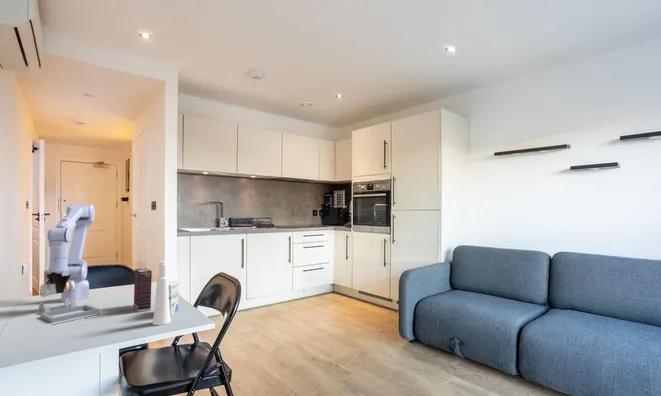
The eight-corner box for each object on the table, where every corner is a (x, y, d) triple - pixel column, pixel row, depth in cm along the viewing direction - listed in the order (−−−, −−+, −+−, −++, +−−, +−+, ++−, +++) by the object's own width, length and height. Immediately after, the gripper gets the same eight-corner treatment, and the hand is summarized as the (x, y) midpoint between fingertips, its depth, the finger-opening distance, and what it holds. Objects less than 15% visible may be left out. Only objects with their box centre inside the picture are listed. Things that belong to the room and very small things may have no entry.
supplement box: (151, 310, 140) (152, 270, 141) (138, 312, 137) (139, 272, 138) (146, 305, 147) (147, 267, 147) (133, 307, 144) (134, 269, 144)
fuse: (70, 291, 144) (70, 279, 144) (74, 292, 141) (75, 281, 141) (40, 295, 135) (40, 284, 136) (44, 297, 133) (44, 285, 133)
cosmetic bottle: (168, 324, 123) (169, 262, 123) (149, 325, 121) (151, 262, 122) (172, 319, 128) (173, 259, 129) (155, 320, 127) (156, 260, 128)
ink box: (166, 310, 141) (166, 280, 141) (178, 309, 141) (179, 280, 141) (157, 316, 132) (158, 285, 132) (170, 316, 132) (171, 285, 133)
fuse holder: (71, 305, 146) (71, 297, 146) (81, 309, 141) (81, 300, 141) (32, 313, 135) (32, 303, 135) (41, 317, 130) (41, 308, 130)
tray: (86, 310, 140) (87, 304, 140) (99, 314, 134) (99, 309, 134) (40, 319, 128) (40, 313, 128) (51, 325, 121) (51, 318, 121)
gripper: (39, 257, 139) (38, 291, 139) (53, 260, 131) (52, 296, 131) (61, 255, 145) (59, 288, 145) (75, 258, 137) (74, 293, 137)
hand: (57, 292), depth 138 cm, fingers closed on fuse, 4 cm apart
